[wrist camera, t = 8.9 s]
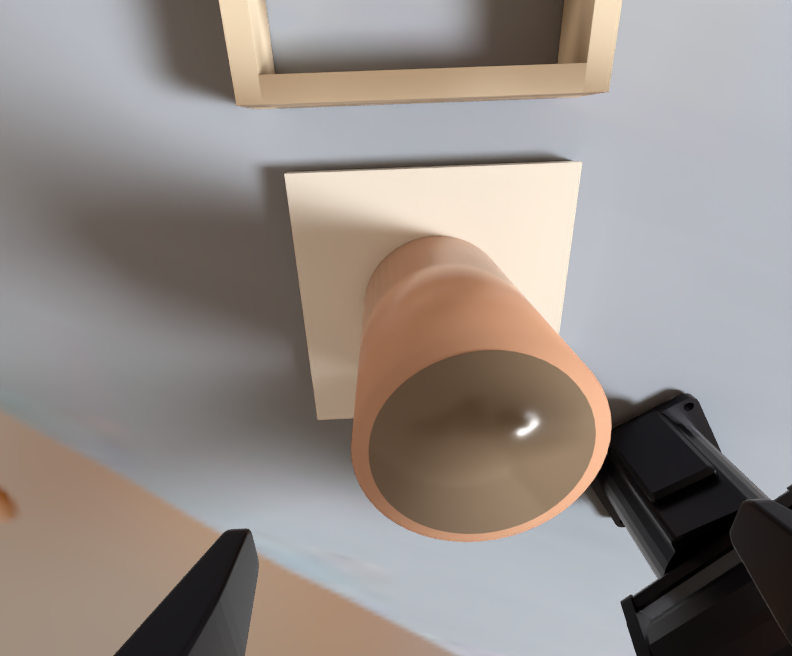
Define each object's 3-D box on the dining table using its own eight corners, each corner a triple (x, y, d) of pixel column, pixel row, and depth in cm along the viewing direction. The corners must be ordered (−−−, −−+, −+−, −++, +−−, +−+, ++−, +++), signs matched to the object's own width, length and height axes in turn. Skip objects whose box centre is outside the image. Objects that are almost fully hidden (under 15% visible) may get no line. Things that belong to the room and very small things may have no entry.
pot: (530, 323, 19) (651, 475, 10) (414, 391, 20) (439, 576, 12) (460, 205, 16) (542, 278, 8) (334, 289, 18) (295, 428, 9)
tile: (542, 399, 21) (548, 408, 21) (319, 409, 21) (317, 420, 20) (573, 160, 17) (582, 162, 16) (288, 172, 17) (284, 173, 16)
